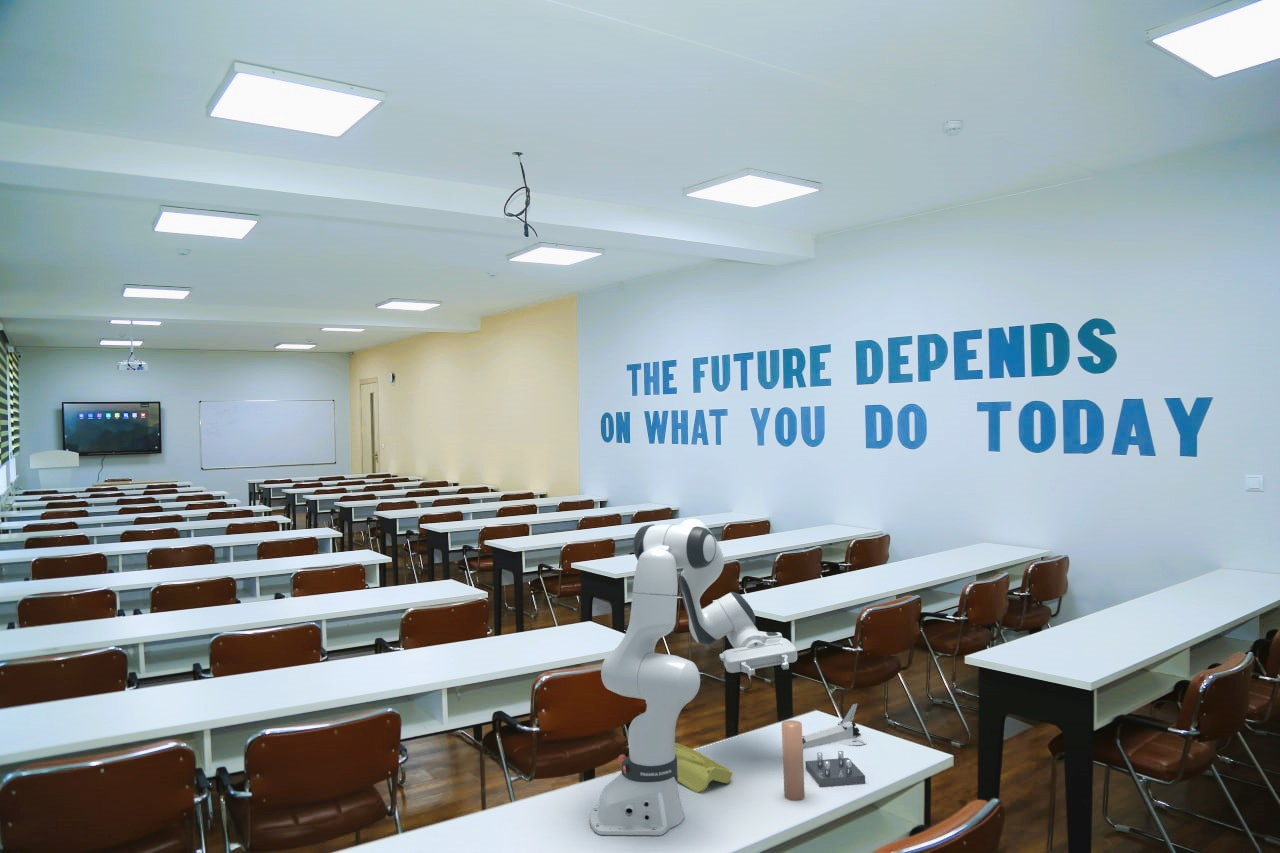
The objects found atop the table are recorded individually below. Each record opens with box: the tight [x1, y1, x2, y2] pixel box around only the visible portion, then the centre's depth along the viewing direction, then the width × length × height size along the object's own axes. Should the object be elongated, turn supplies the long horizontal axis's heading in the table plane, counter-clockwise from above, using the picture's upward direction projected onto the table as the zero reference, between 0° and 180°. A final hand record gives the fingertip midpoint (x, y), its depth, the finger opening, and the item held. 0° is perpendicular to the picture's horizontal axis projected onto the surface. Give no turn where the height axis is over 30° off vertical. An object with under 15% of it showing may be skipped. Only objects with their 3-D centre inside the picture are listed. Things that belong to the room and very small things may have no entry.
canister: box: [781, 719, 806, 802], centre depth 199 cm, size 5×5×18 cm
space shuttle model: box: [802, 702, 868, 750], centre depth 235 cm, size 16×25×10 cm, turn 115°
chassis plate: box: [804, 750, 866, 788], centre depth 210 cm, size 12×12×5 cm
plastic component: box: [675, 742, 733, 793], centre depth 213 cm, size 20×7×10 cm
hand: (769, 669), depth 211 cm, fingers open, 8 cm apart
